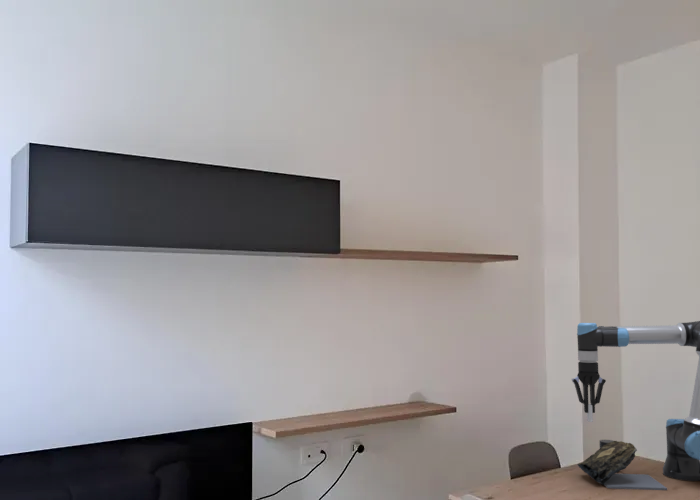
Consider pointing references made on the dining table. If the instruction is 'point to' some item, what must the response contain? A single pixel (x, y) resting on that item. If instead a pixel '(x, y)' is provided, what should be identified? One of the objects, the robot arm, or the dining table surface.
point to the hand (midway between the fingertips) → (589, 421)
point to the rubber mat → (633, 482)
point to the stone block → (608, 460)
